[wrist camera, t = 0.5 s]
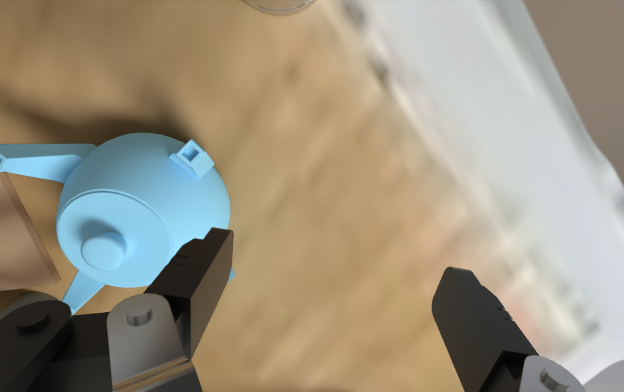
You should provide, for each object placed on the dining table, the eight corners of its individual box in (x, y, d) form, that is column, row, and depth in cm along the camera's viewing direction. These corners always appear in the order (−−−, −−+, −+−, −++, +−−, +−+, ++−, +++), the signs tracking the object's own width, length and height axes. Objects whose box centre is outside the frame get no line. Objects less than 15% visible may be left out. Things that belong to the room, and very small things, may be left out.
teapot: (107, 264, 33) (24, 344, 23) (63, 127, 28) (-71, 154, 18) (245, 258, 34) (223, 334, 24) (229, 122, 28) (190, 145, 18)
